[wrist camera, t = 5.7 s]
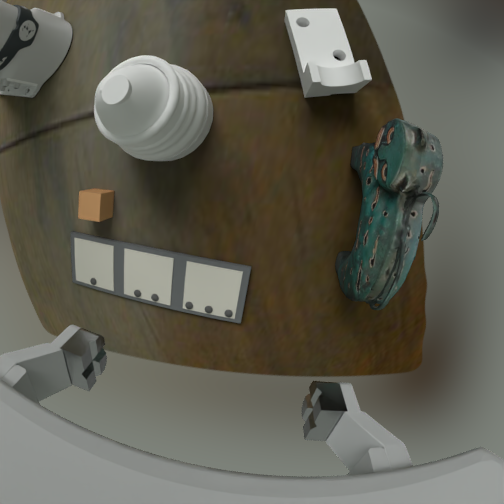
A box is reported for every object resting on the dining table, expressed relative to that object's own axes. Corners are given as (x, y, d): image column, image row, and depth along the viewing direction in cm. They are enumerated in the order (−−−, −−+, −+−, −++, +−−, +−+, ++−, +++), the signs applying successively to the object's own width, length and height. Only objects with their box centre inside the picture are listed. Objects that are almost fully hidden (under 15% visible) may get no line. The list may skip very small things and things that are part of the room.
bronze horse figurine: (346, 133, 34) (419, 103, 15) (388, 144, 34) (481, 132, 15) (323, 273, 40) (363, 358, 20) (363, 278, 40) (424, 358, 20)
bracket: (353, 94, 32) (371, 79, 25) (304, 98, 33) (312, 82, 26) (331, 19, 29) (342, -6, 22) (284, 21, 30) (287, -5, 22)
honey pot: (229, 90, 33) (198, 31, 16) (190, 174, 37) (128, 181, 20) (150, 66, 32) (83, 18, 15) (115, 145, 36) (30, 139, 19)
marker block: (92, 213, 39) (78, 218, 35) (94, 188, 38) (79, 191, 34) (112, 216, 39) (99, 221, 35) (114, 190, 38) (100, 193, 34)
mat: (75, 280, 43) (71, 283, 41) (73, 231, 40) (69, 232, 39) (241, 320, 42) (240, 324, 41) (251, 266, 40) (250, 269, 39)
